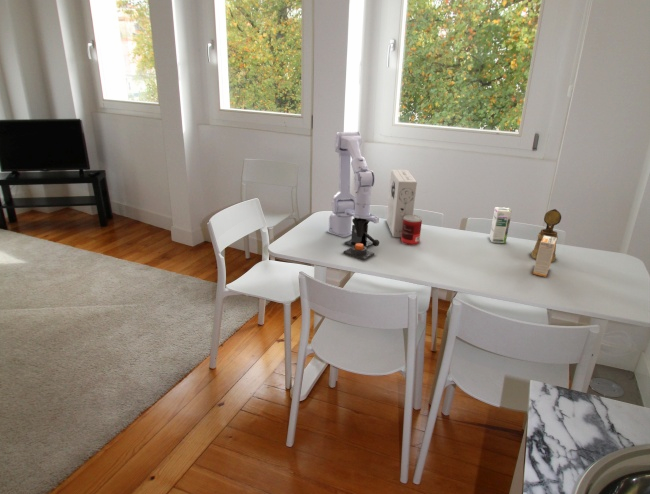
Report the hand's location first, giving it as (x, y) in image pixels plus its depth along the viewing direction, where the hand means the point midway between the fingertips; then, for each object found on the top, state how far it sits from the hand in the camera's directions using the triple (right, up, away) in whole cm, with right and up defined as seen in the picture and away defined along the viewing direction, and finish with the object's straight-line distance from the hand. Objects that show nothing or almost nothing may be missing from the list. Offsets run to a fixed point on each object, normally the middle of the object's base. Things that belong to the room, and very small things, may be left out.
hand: (360, 236), depth 183 cm
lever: (+3, -1, +9) cm, 10 cm away
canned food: (+23, -2, +17) cm, 29 cm away
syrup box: (+62, -1, +21) cm, 65 cm away
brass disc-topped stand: (+75, -8, +7) cm, 76 cm away
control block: (0, -7, +3) cm, 8 cm away
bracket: (+1, -3, +12) cm, 13 cm away
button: (0, -5, +2) cm, 5 cm away
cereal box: (+21, +4, +31) cm, 37 cm away
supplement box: (+67, -14, -8) cm, 69 cm away
